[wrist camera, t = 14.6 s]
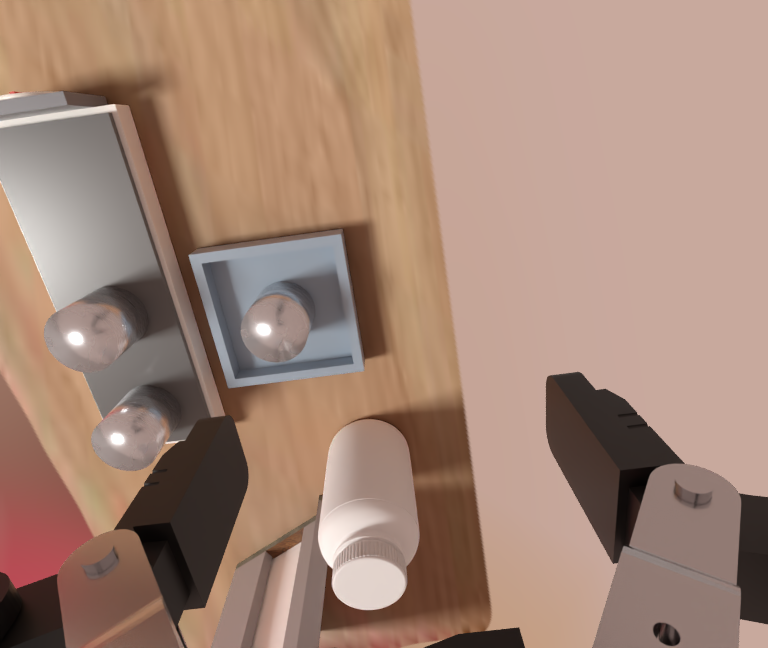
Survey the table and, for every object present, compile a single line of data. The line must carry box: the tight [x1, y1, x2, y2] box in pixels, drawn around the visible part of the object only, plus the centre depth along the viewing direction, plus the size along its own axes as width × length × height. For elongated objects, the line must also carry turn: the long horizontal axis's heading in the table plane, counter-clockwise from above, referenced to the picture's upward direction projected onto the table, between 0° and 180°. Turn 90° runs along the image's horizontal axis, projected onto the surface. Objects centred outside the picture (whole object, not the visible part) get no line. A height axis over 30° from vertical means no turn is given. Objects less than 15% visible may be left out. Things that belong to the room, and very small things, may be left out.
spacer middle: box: [44, 286, 148, 373], centre depth 36 cm, size 5×5×5 cm
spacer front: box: [241, 281, 315, 362], centre depth 38 cm, size 5×5×5 cm
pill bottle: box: [318, 419, 420, 610], centre depth 40 cm, size 8×8×15 cm
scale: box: [0, 91, 225, 444], centre depth 37 cm, size 29×10×5 cm, turn 8°
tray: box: [188, 229, 365, 388], centre depth 39 cm, size 12×12×2 cm
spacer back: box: [91, 385, 181, 471], centre depth 39 cm, size 5×5×5 cm
